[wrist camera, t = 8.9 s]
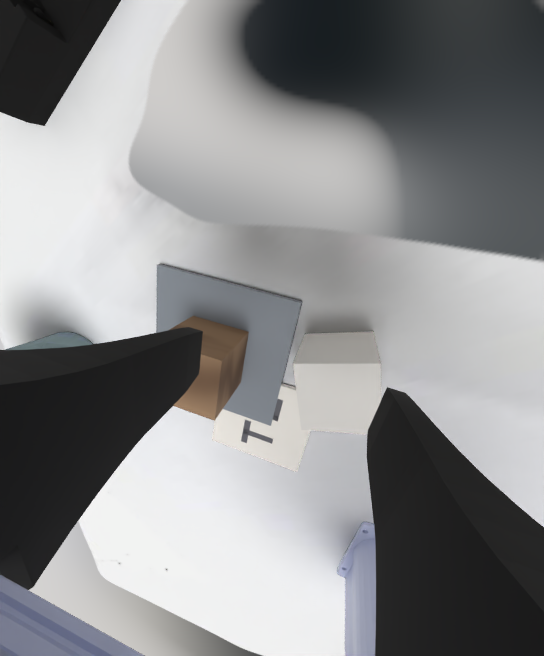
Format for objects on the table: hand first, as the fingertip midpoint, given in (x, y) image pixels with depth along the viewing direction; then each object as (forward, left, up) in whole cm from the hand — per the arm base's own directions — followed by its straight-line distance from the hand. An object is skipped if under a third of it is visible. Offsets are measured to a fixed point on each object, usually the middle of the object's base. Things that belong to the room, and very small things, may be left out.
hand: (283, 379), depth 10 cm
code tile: (-12, +2, -10) cm, 16 cm away
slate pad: (-6, +7, -10) cm, 14 cm away
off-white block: (-4, -3, -10) cm, 12 cm away
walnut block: (-6, +7, -10) cm, 13 cm away
